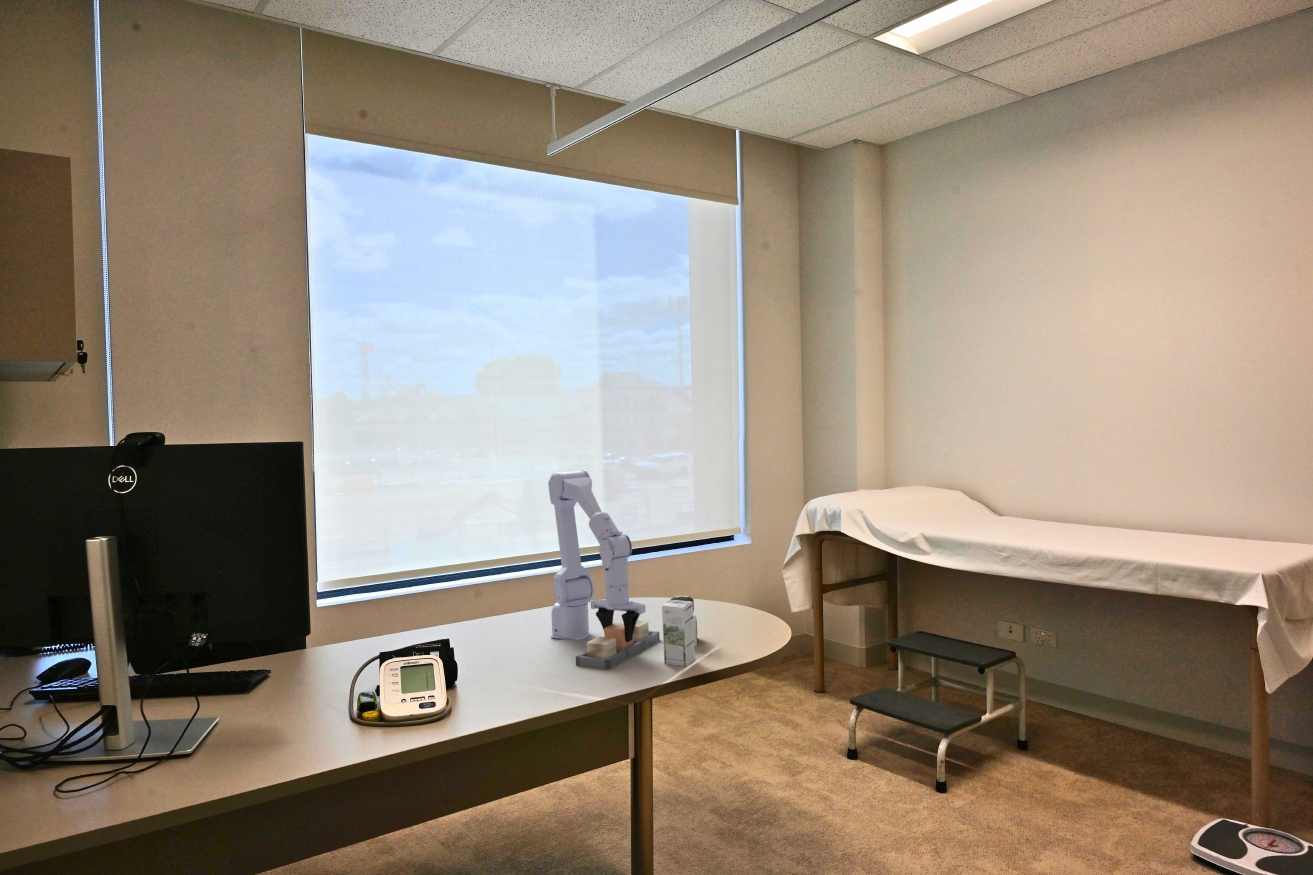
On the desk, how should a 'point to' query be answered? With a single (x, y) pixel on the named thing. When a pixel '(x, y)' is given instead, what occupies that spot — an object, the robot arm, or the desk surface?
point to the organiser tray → (621, 653)
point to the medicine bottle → (686, 598)
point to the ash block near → (601, 648)
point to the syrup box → (678, 632)
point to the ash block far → (641, 630)
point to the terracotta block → (617, 635)
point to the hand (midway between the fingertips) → (619, 639)
